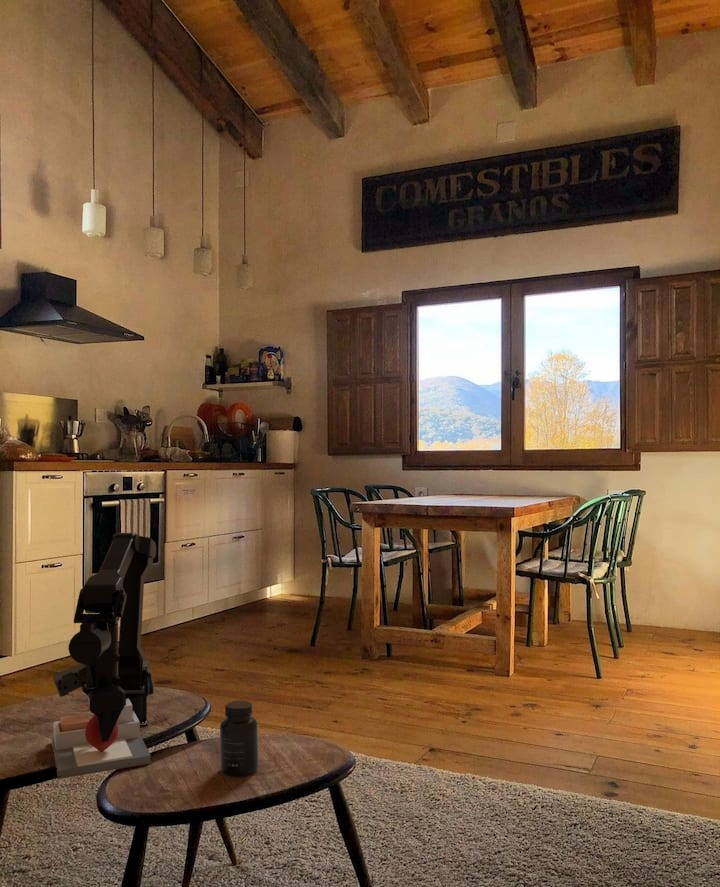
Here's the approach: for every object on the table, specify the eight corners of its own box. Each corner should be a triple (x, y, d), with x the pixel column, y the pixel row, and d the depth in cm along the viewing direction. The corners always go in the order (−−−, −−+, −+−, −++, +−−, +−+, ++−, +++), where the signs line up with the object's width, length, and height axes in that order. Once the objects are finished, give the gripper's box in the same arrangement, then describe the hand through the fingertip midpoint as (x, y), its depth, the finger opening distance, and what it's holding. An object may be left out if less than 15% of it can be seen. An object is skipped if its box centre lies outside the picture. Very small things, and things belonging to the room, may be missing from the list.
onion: (118, 742, 150) (116, 701, 150) (119, 754, 144) (117, 710, 144) (86, 748, 148) (84, 705, 148) (86, 759, 142) (84, 715, 142)
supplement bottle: (227, 761, 146) (227, 697, 146) (262, 764, 145) (262, 699, 145) (214, 777, 139) (214, 709, 139) (251, 779, 138) (251, 711, 138)
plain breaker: (128, 717, 159) (128, 698, 159) (132, 725, 155) (132, 705, 155) (102, 721, 157) (102, 701, 157) (106, 729, 153) (106, 708, 153)
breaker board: (134, 730, 162) (134, 708, 162) (150, 763, 145) (150, 739, 145) (51, 742, 156) (51, 720, 156) (58, 778, 138) (58, 753, 138)
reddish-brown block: (87, 733, 156) (87, 713, 156) (89, 742, 152) (89, 721, 152) (60, 737, 154) (60, 717, 154) (62, 746, 149) (62, 725, 149)
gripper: (52, 642, 152) (52, 723, 151) (59, 666, 135) (59, 758, 134) (112, 637, 156) (112, 715, 156) (126, 659, 139) (126, 747, 139)
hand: (102, 733), depth 146 cm, fingers open, 9 cm apart
